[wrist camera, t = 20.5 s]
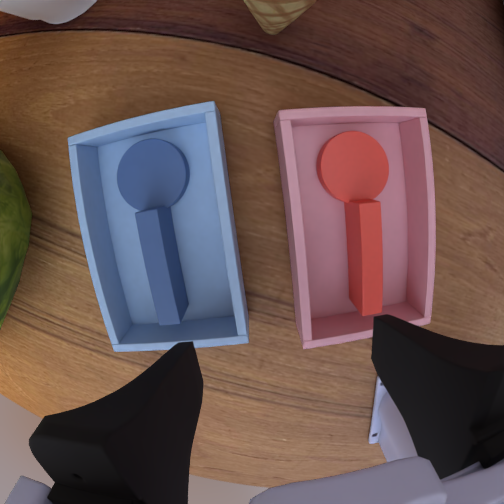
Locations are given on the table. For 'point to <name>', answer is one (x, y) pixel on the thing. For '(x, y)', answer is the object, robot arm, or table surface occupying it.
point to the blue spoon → (157, 218)
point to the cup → (46, 9)
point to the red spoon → (358, 209)
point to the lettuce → (12, 232)
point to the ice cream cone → (277, 12)
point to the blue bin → (185, 225)
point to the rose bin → (334, 226)
